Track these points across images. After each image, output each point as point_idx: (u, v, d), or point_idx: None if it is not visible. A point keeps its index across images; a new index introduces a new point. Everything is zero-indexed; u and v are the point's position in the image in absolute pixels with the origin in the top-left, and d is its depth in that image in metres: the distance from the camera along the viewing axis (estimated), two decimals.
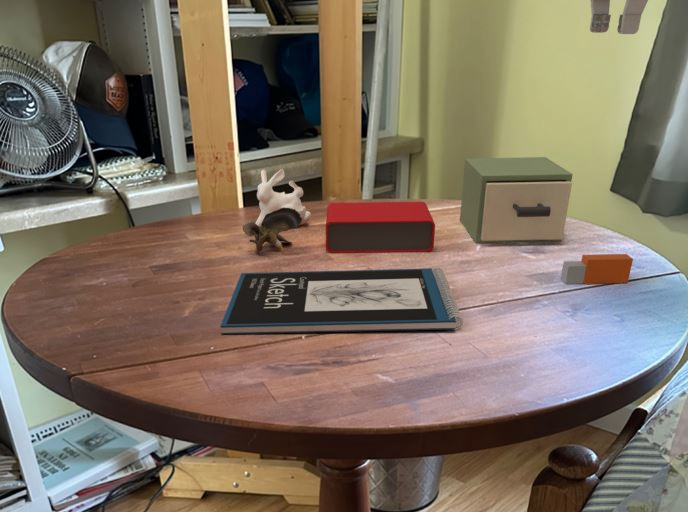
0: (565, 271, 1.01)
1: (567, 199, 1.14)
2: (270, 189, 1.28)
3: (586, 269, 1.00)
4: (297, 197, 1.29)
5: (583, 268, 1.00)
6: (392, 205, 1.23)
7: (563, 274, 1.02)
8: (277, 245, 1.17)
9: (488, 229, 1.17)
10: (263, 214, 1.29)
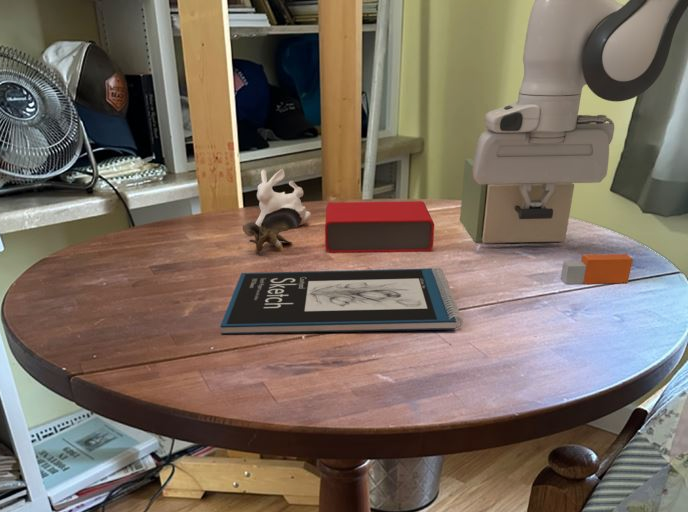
0: (565, 271, 1.01)
1: (569, 201, 1.13)
2: (270, 189, 1.28)
3: (586, 269, 1.00)
4: (297, 197, 1.29)
5: (583, 268, 1.00)
6: (391, 205, 1.23)
7: (563, 274, 1.02)
8: (277, 245, 1.17)
9: (490, 231, 1.16)
10: (263, 214, 1.29)
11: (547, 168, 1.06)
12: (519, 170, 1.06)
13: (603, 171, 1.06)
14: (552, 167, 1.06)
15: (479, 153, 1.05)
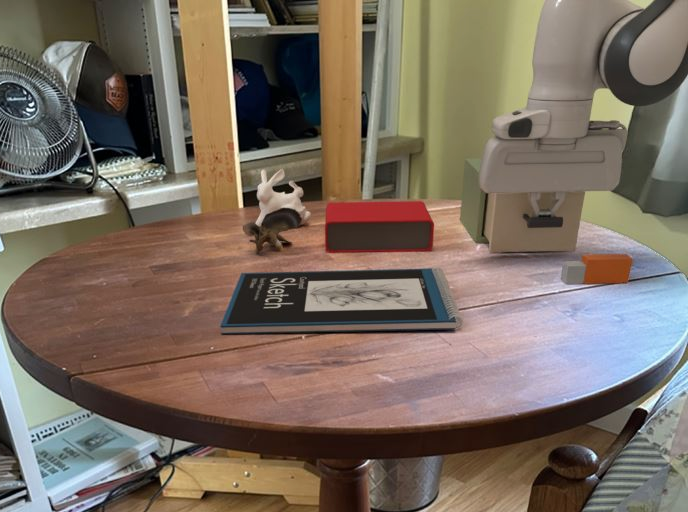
0: (565, 271, 1.01)
1: (580, 209, 1.08)
2: (270, 189, 1.28)
3: (586, 269, 1.00)
4: (297, 197, 1.29)
5: (583, 268, 1.00)
6: (391, 205, 1.23)
7: (563, 274, 1.02)
8: (277, 245, 1.17)
9: (496, 240, 1.11)
10: (263, 214, 1.29)
11: (557, 176, 1.02)
12: (528, 178, 1.02)
13: (616, 179, 1.02)
14: (563, 175, 1.01)
15: (486, 161, 1.01)
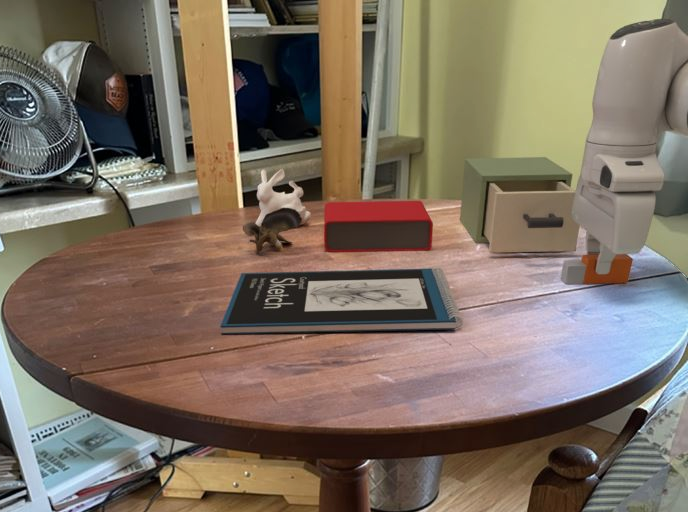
0: (565, 271, 1.01)
1: None
2: (270, 189, 1.28)
3: (586, 269, 1.00)
4: (297, 197, 1.29)
5: (583, 268, 1.00)
6: (389, 204, 1.24)
7: (563, 274, 1.02)
8: (277, 245, 1.17)
9: (497, 240, 1.11)
10: (263, 214, 1.29)
11: None
12: None
13: None
14: None
15: (646, 219, 0.88)
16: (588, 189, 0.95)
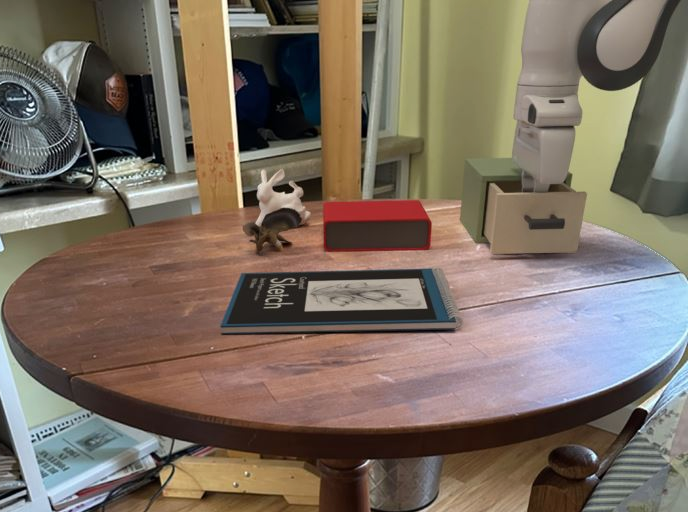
0: None
1: (582, 210, 1.08)
2: (270, 189, 1.28)
3: None
4: (297, 197, 1.29)
5: None
6: (387, 204, 1.24)
7: None
8: (277, 245, 1.17)
9: (498, 242, 1.10)
10: (263, 214, 1.29)
11: None
12: None
13: None
14: None
15: (567, 151, 0.99)
16: (520, 129, 1.06)
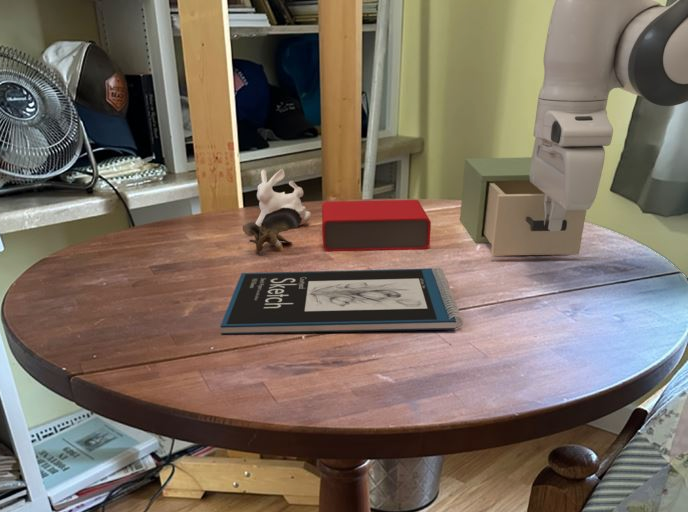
0: None
1: (584, 212, 1.07)
2: (270, 189, 1.28)
3: None
4: (297, 197, 1.29)
5: None
6: (386, 203, 1.24)
7: None
8: (277, 245, 1.17)
9: (499, 243, 1.09)
10: (263, 214, 1.29)
11: None
12: None
13: None
14: None
15: (596, 174, 0.89)
16: (541, 147, 0.96)
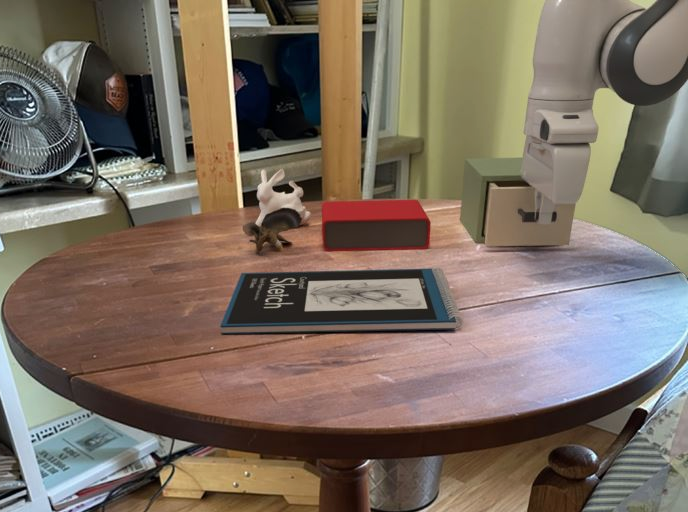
0: None
1: (573, 204, 1.11)
2: (270, 189, 1.28)
3: None
4: (297, 197, 1.29)
5: None
6: (386, 203, 1.24)
7: None
8: (277, 245, 1.17)
9: (492, 234, 1.14)
10: (263, 214, 1.29)
11: None
12: None
13: None
14: None
15: (582, 169, 0.93)
16: (531, 144, 1.01)
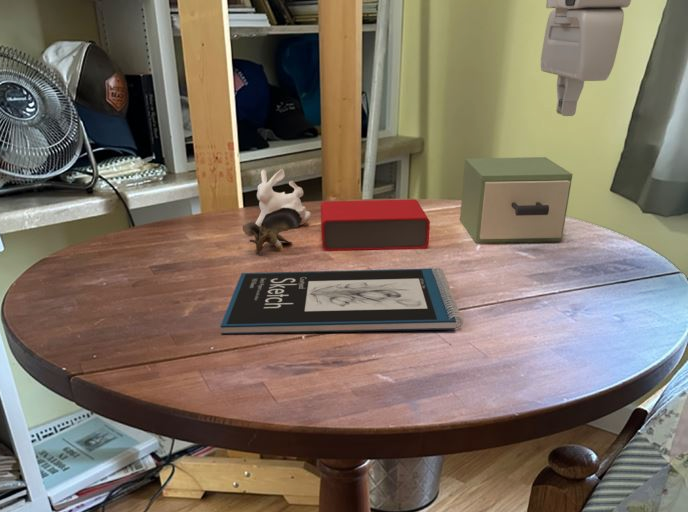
0: None
1: (565, 198, 1.15)
2: (270, 189, 1.28)
3: None
4: (297, 197, 1.29)
5: None
6: (385, 203, 1.25)
7: None
8: (277, 245, 1.17)
9: (487, 228, 1.18)
10: (263, 214, 1.29)
11: None
12: None
13: None
14: None
15: (614, 38, 0.82)
16: (555, 20, 0.90)
